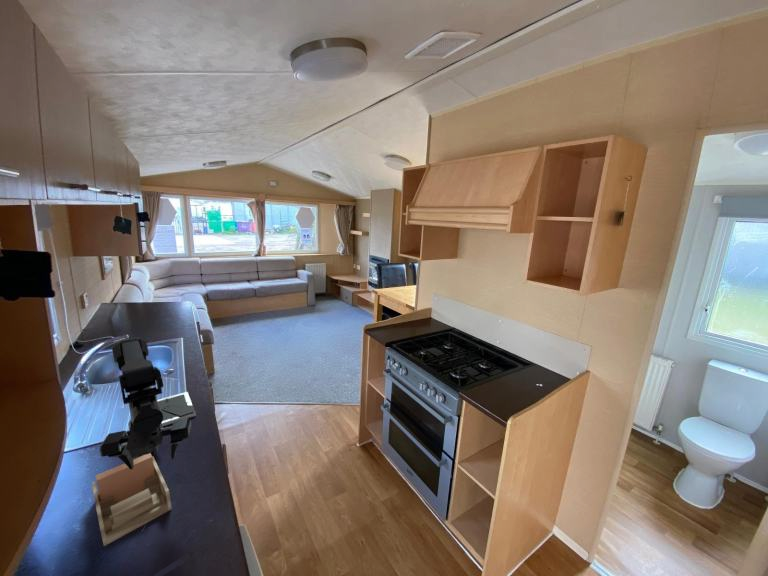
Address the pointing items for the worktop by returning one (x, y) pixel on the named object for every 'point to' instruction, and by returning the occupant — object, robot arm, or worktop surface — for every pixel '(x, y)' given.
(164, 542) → the worktop surface
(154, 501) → the offcut lower
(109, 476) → the orange tan rectangular slab
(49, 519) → the worktop surface
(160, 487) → the rack
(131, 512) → the offcut upper
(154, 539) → the worktop surface
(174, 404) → the picture frame
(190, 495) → the worktop surface
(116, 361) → the robot arm
